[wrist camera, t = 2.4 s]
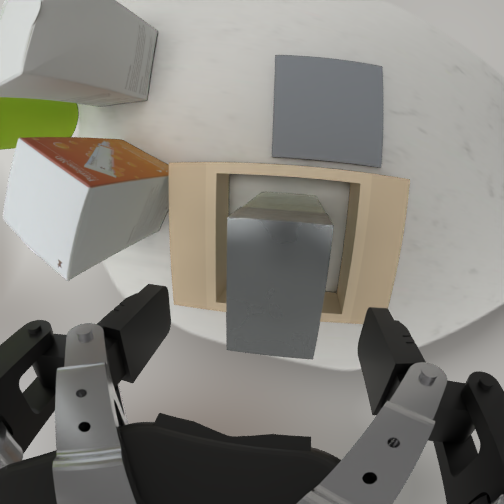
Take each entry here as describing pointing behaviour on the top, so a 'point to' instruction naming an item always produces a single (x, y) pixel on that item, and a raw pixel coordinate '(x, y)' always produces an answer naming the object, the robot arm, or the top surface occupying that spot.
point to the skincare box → (74, 51)
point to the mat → (328, 110)
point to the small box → (83, 199)
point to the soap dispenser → (35, 119)
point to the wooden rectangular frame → (215, 235)
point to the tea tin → (277, 274)
